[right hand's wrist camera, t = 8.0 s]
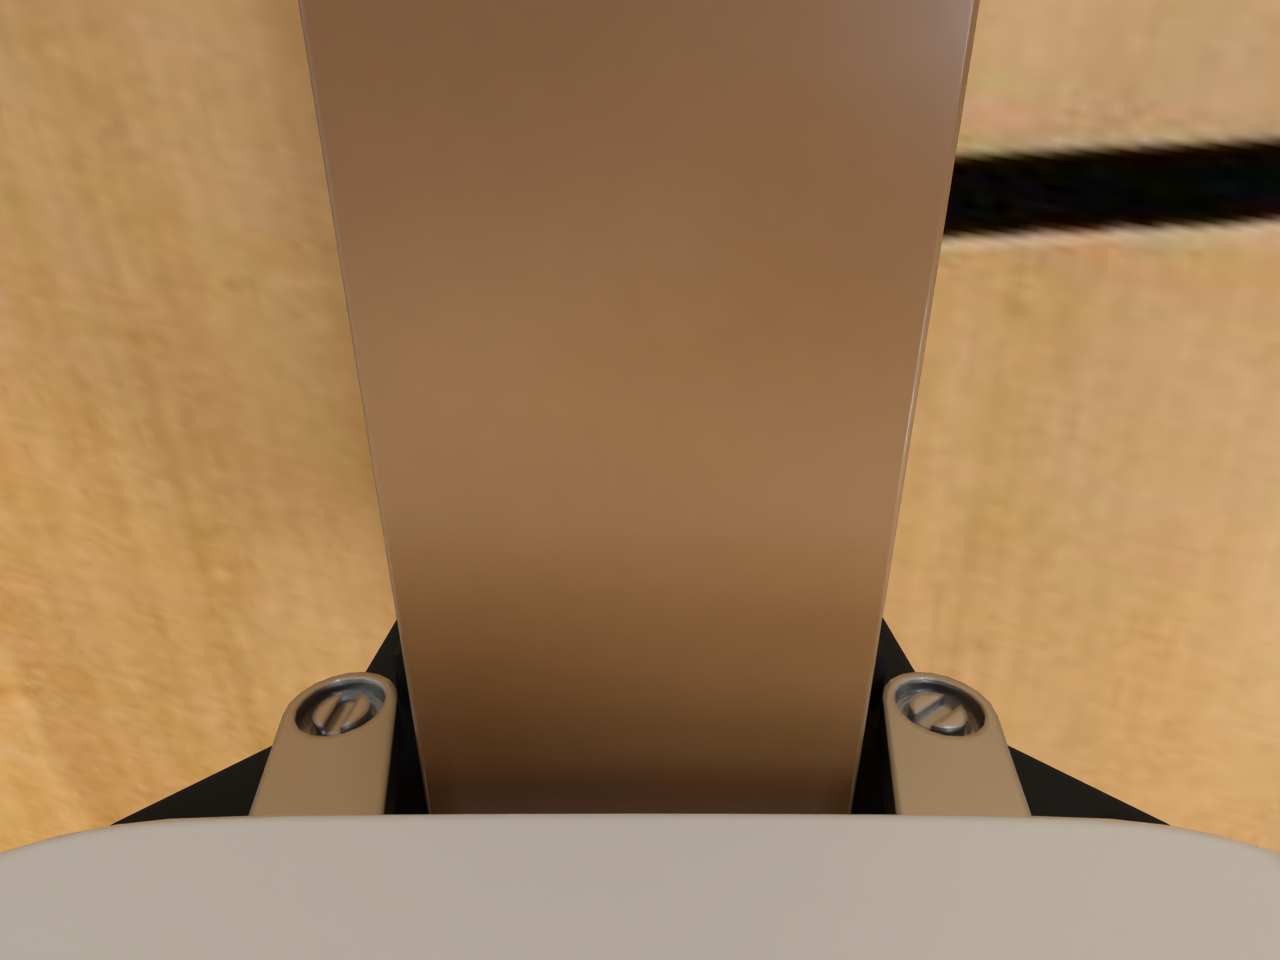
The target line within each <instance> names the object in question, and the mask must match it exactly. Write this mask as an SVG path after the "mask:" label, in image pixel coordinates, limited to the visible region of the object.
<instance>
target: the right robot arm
mask: <svg viewBox="0 0 1280 960" xmlns="http://www.w3.org/2000/svg"><path fill="white" fill-rule="evenodd" d="M0 960H1280V853H1279V852H1277V851H1273V850H1270V849H1266V848H1263V847H1259V846H1255V845H1252V844H1248V843H1245V842H1241V841H1238V840H1234V839H1231V838H1227V837H1224V836H1220V835H1216V834H1211V833H1205V832H1200V831H1195V830H1189V829H1184V828H1179V827H1173V826H1170V825H1169V824H1167V823H1165V822H1163V821H1161V820H1159V819H1157V818H1155V817H1153V816H1151V815H1149V814H1147V813H1144V812H1142V811H1140V810H1138V809H1136V808H1134V807H1132V806H1130V805H1128V804H1126V803H1124V802H1122V801H1120V800H1118V799H1116V798H1114V797H1112V796H1110V795H1108V794H1106V793H1104V792H1102V791H1100V790H1098V789H1096V788H1093V787H1091V786H1089V785H1087V784H1085V783H1083V782H1081V781H1079V780H1077V779H1075V778H1073V777H1071V776H1069V775H1067V774H1065V773H1063V772H1061V771H1059V770H1057V769H1055V768H1053V767H1051V766H1049V765H1047V764H1045V763H1043V762H1040V761H1038V760H1036V759H1034V758H1032V757H1030V756H1028V755H1026V754H1024V753H1022V752H1020V751H1018V750H1016V749H1014V748H1012V747H1010V746H1008V745H1007V742H1006V739H1005V736H1004V733H1003V731H1002V728H1001V725H1000V722H999V719H998V716H997V714H996V712H995V710H994V709H993V707H992V705H991V703H989V702H988V701H987V700H986V699H985V698H984V697H983V696H982V695H981V694H980V693H979V692H977V691H976V690H974V689H972V688H971V687H969V686H968V685H966V684H964V683H962V682H959V681H957V680H955V679H952V678H950V677H947V676H942V675H938V674H934V673H923V672H915V671H914V669H913V668H912V666H911V664H910V663H909V661H908V659H907V658H906V656H905V654H904V653H903V651H902V649H901V648H900V646H899V644H898V642H897V641H896V639H895V637H894V636H893V634H892V632H891V631H890V629H889V627H888V626H887V624H886V622H885V621H884V619H883V617H882V623H881V629H880V635H879V642H878V648H877V654H876V661H875V667H874V673H873V680H872V686H871V693H870V699H869V705H868V711H867V718H866V724H865V731H864V737H863V743H862V750H861V756H860V762H859V769H858V775H857V781H856V788H855V794H854V800H853V807H852V813H851V814H428V811H427V804H426V798H425V792H424V785H423V779H422V773H421V767H420V760H419V754H418V748H417V742H416V735H415V729H414V723H413V716H412V710H411V704H410V698H409V691H408V685H407V679H406V673H405V666H404V660H403V654H402V647H401V641H400V635H399V629H398V622H397V620H396V622H395V623H394V625H393V627H392V629H391V630H390V632H389V634H388V635H387V637H386V639H385V640H384V642H383V644H382V645H381V647H380V649H379V650H378V652H377V654H376V655H375V657H374V659H373V661H372V662H371V664H370V666H369V667H368V669H367V671H366V672H357V673H346V674H342V675H338V676H333V677H330V678H328V679H325V680H323V681H321V682H318V683H316V684H314V685H312V686H311V687H309V688H308V689H306V690H304V691H303V692H301V693H300V694H299V695H298V696H297V697H296V698H295V699H294V700H293V701H292V702H291V703H289V705H288V707H287V709H286V710H285V712H284V714H283V716H282V719H281V722H280V725H279V728H278V731H277V733H276V736H275V739H274V742H273V745H272V746H271V747H269V748H267V749H265V750H263V751H261V752H258V753H256V754H254V755H252V756H250V757H248V758H246V759H244V760H242V761H240V762H238V763H236V764H234V765H232V766H230V767H228V768H226V769H224V770H222V771H220V772H218V773H216V774H214V775H212V776H209V777H207V778H205V779H203V780H201V781H199V782H197V783H195V784H193V785H191V786H189V787H187V788H185V789H183V790H181V791H179V792H177V793H175V794H173V795H171V796H169V797H167V798H165V799H163V800H160V801H158V802H156V803H154V804H152V805H150V806H148V807H146V808H144V809H142V810H140V811H138V812H136V813H134V814H132V815H130V816H128V817H126V818H124V819H122V820H120V821H118V822H116V823H114V824H112V825H110V826H107V827H101V828H96V829H91V830H85V831H80V832H75V833H69V834H64V835H60V836H56V837H53V838H49V839H46V840H42V841H39V842H35V843H32V844H28V845H25V846H21V847H17V848H14V849H10V850H7V851H3V852H1V853H0Z"/></svg>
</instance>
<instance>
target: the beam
mask: <svg viewBox="0 0 1280 960" xmlns="http://www.w3.org/2000/svg"><path fill="white" fill-rule="evenodd" d="M298 1H299V8H300V14H301V20H302V26H303V33H304V39H305V45H306V51H307V58H308V64H309V70H310V77H311V83H312V89H313V95H314V102H315V108H316V114H317V120H318V127H319V133H320V139H321V146H322V152H323V158H324V164H325V171H326V177H327V183H328V189H329V196H330V202H331V208H332V215H333V221H334V227H335V233H336V240H337V246H338V252H339V258H340V265H341V271H342V277H343V284H344V290H345V296H346V302H347V309H348V315H349V321H350V328H351V334H352V340H353V346H354V353H355V359H356V365H357V371H358V378H359V384H360V390H361V397H362V403H363V409H364V415H365V422H366V428H367V434H368V440H369V447H370V453H371V459H372V466H373V472H374V478H375V484H376V491H377V497H378V503H379V509H380V516H381V522H382V528H383V535H384V541H385V547H386V553H387V560H388V566H389V572H390V578H391V585H392V591H393V597H394V604H395V610H396V616H397V622H398V629H399V635H400V641H401V647H402V654H403V660H404V666H405V673H406V679H407V685H408V691H409V698H410V704H411V710H412V716H413V723H414V729H415V735H416V742H417V748H418V754H419V760H420V767H421V773H422V779H423V785H424V792H425V798H426V804H427V811H428V814H851V813H852V807H853V800H854V794H855V788H856V781H857V775H858V769H859V762H860V756H861V750H862V743H863V737H864V731H865V724H866V718H867V711H868V705H869V699H870V693H871V686H872V680H873V673H874V667H875V661H876V654H877V648H878V642H879V635H880V629H881V623H882V616H883V610H884V604H885V597H886V591H887V585H888V578H889V572H890V566H891V559H892V553H893V547H894V540H895V534H896V528H897V521H898V515H899V509H900V502H901V496H902V490H903V483H904V477H905V471H906V464H907V458H908V452H909V445H910V439H911V433H912V426H913V420H914V414H915V407H916V401H917V395H918V388H919V382H920V376H921V369H922V363H923V357H924V350H925V344H926V338H927V331H928V325H929V319H930V312H931V306H932V300H933V293H934V287H935V281H936V274H937V268H938V262H939V255H940V249H941V243H942V236H943V230H944V224H945V217H946V211H947V205H948V198H949V192H950V186H951V179H952V173H953V167H954V160H955V154H956V148H957V141H958V135H959V129H960V122H961V116H962V110H963V103H964V97H965V91H966V84H967V78H968V72H969V65H970V59H971V53H972V46H973V40H974V34H975V27H976V21H977V15H978V8H979V2H980V0H298Z"/></svg>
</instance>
